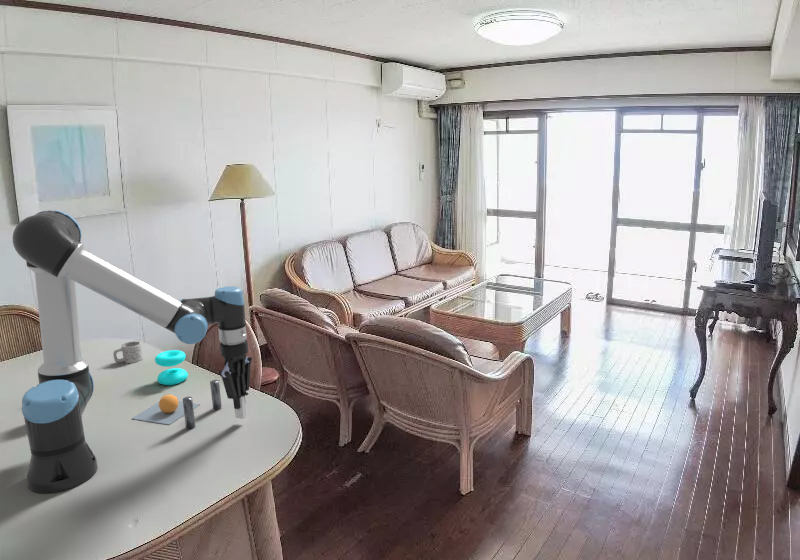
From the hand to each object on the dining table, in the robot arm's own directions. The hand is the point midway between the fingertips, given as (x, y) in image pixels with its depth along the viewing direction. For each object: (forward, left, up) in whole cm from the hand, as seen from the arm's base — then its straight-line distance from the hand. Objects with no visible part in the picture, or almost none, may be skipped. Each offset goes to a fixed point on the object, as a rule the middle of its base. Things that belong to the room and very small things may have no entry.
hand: (240, 417), depth 169 cm
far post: (+6, +13, -2) cm, 15 cm away
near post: (-6, +13, -2) cm, 15 cm away
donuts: (+21, +42, -2) cm, 47 cm away
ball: (0, +26, +1) cm, 26 cm away
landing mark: (0, +27, -2) cm, 27 cm away
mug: (+32, +72, -2) cm, 79 cm away
